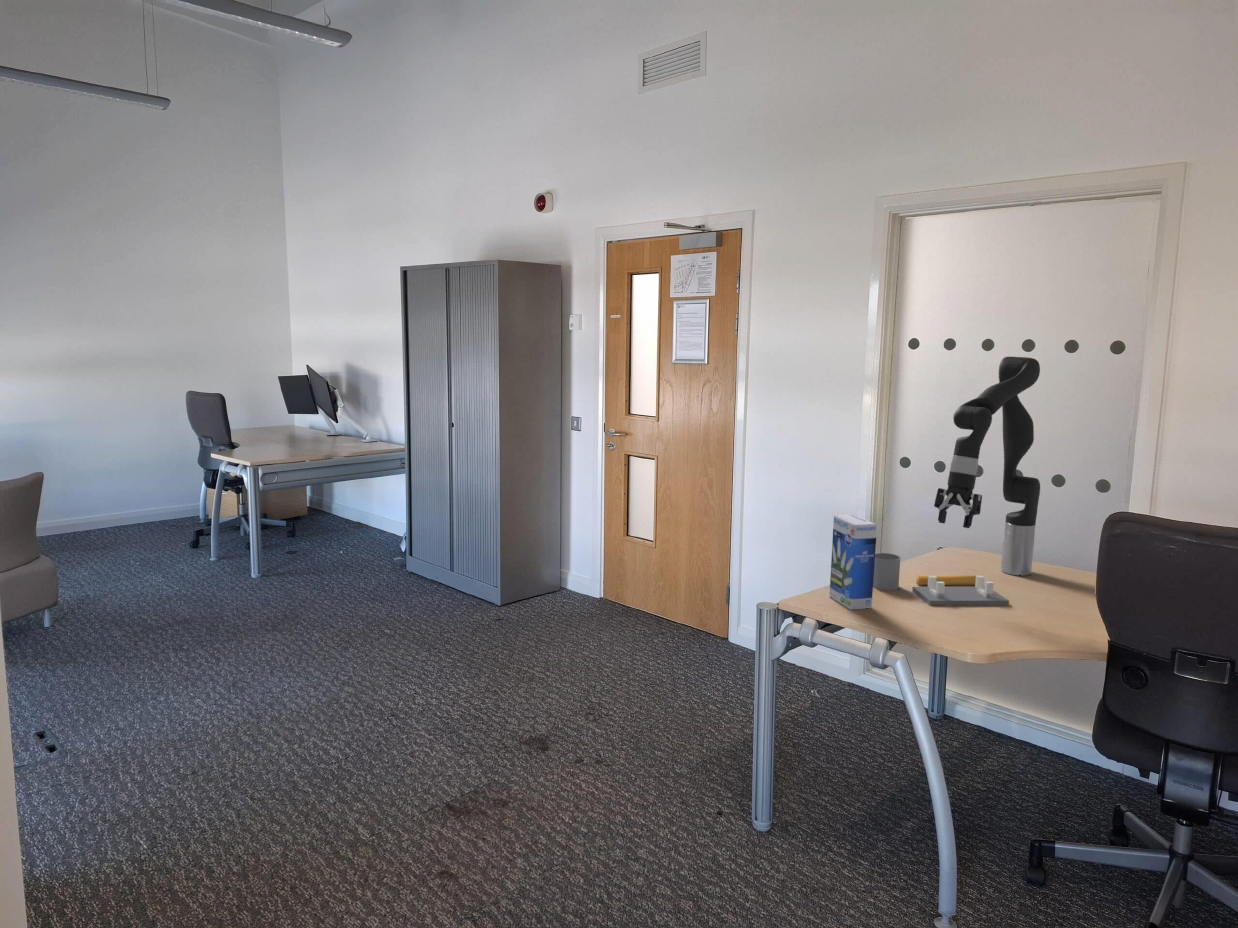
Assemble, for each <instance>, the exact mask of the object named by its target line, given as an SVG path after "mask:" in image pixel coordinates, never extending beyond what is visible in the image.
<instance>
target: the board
mask: <svg viewBox="0 0 1238 928" xmlns="http://www.w3.org/2000/svg"><path fill="white" fill-rule="evenodd" d="M927 576H928V585H927V586H912V588H911V589H912V593H914V594H915V595H916V596H917V597H919V598H920V599H921V600H922V601H924V602H925V603H926V604H927V605H929V606H931V605H951V606H1010V600H1009V599H1008V598H1006V597H1004V596H1002V595H1001V594H999V593H998V592H997V591H995V590H994V585H995V583H994V582H993V581H985V576H983V575H975V576H976V581H975V585H974V586H946V585H945V583H944V582H936V580H937V577H936V576H937V575H927ZM931 607H932V606H931Z"/></svg>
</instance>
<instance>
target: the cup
mask: <svg viewBox="0 0 1238 928" xmlns="http://www.w3.org/2000/svg"><path fill="white" fill-rule="evenodd" d="M900 568H901V556H900V555H897V554H894V553H888V552H885V553H884V552H880V553H875V565H874V579H873V589H876V590H881V591H886V592H887V591H897V590H899V587H900V585H899V583H900V571H901V570H900Z"/></svg>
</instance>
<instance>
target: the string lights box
mask: <svg viewBox="0 0 1238 928" xmlns="http://www.w3.org/2000/svg"><path fill="white" fill-rule="evenodd" d="M832 524H833V526H832V527H833V528H832V540H831V541H832V543H831V544H832V545H831V546H832V547H831V558H830V559H831V562H830V577H829V579H830V581H829V583H830V584H829V598H832V600H835V602H838V603H839V604H841V605H842V606H843V607H845V608H846V609H848V610H851V611H853V610H865V609H866V608H869V609H872V607H873V606H872V605H873V591H874V588H873V579H874V565H875V554H876V548H877V534H878V523H875V522H871V521H870V520H868V519H866V518H863V517H861V516H857V515H856V514H838V515H837V514H836V515H833V523H832Z"/></svg>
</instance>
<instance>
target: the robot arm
mask: <svg viewBox="0 0 1238 928" xmlns="http://www.w3.org/2000/svg"><path fill="white" fill-rule="evenodd" d="M1040 372H1041V367H1040V362H1039V360H1037V359H1036V358H1033V357H1027V356H1026V357H1024V356H1004V357H1003V358H1002V359H1001V361H1000V363H999V367H998V383H995V384H993V385H990V386H989V387H987V388H986V389H984V390H983V391H982V392H981V393H980V394H979V395H978V396H977V397H974V398H973V399H971V400H969V401H966V402H964V403H963V404H961V405H960V406H958V407H957V409H956V410H955V412H954V413H953V424H954V426H956V427H957V428H959V429H961V430H967V431H968V430H969V431H972V432H971V433H970V434H969V435H967V436H961V437H958V438H957V439H956V440H955V446H954V451H953V456H952V459H951V461H950V462H951V463H950V468H949V474H948V479H947V489H945V488H940V487H939V488H938V489H937V490H936V491H937V492H936V496H935V499H934V504H933V506H934V507H935V508H937V509H938V510H939V511H938V517H937V521H938V523H939V524H945V523H946V521H947V514H948V509H949V508H950V507H952V506H959V507H961V509H963V510H964V513H965V515H964V520H963V525H962V527H963V528H965V529H970V527H971V526H972V522H973V518H974V516H976V515H977V516H978V515H981V509H982V500H983V495H982V494H978V493H973V490H974V489H975V486H976V480H977V473H978V467H979V459H980V458H979V457H980V452H981V451H980V450H981V446H982V444H983V442H984V439H985V437H986V435H987V434H988V431H989V429H990V427H991V425H992V422H993V415H995V414H996V413H997V412H998V411H999V410H1000V409H1002V443H1003V444H1002V445H1003V476H1002V477H1003V478H1002V495H1003V496H1002V497H1003V498H1004V500H1005V501H1006V502H1008V503H1015V504H1021V505H1024V507H1023V509H1020V510H1017V511H1012V512H1009V513H1006V515H1005V524H1004V537H1003V545H1002V553H1001V555H1002V556H1001V572H1003V573H1005V574H1008V575H1012V576H1019V575H1021V577H1023V576H1024V577H1025V576H1030V575H1032V569H1033V568H1032V567H1033V558H1034V557H1033V556H1034V547H1035V533H1036V532H1035V531H1036V521H1037V516H1038V506H1039V501H1040V494H1041V482H1040V480H1039V479H1038V478H1037V477H1031V476H1021V475H1017V468H1018V465H1019V464H1020V462H1021V460H1022V459H1023V457H1024V456H1025V455H1026V454H1027V453H1028V451H1029V450H1030V449H1031V447H1032V446H1033V444H1034V440H1035V435H1034V434H1035V433H1034V432H1035V431H1034V428H1035V427H1034V420H1033V419H1032V417H1031V414H1030V413H1029V412H1028V410H1027V409H1026V407H1025V406H1024V405H1023V403H1022V401H1021V400H1020V398H1019V396H1018V395H1019V394H1021V393H1023V392H1024V391H1025V390H1027V389H1029V388H1030V387H1032V386H1034V384H1036V382H1037V381H1038V379H1039V377H1040V374H1041V373H1040ZM945 496H946V497H945ZM971 500H972V503H971Z"/></svg>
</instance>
